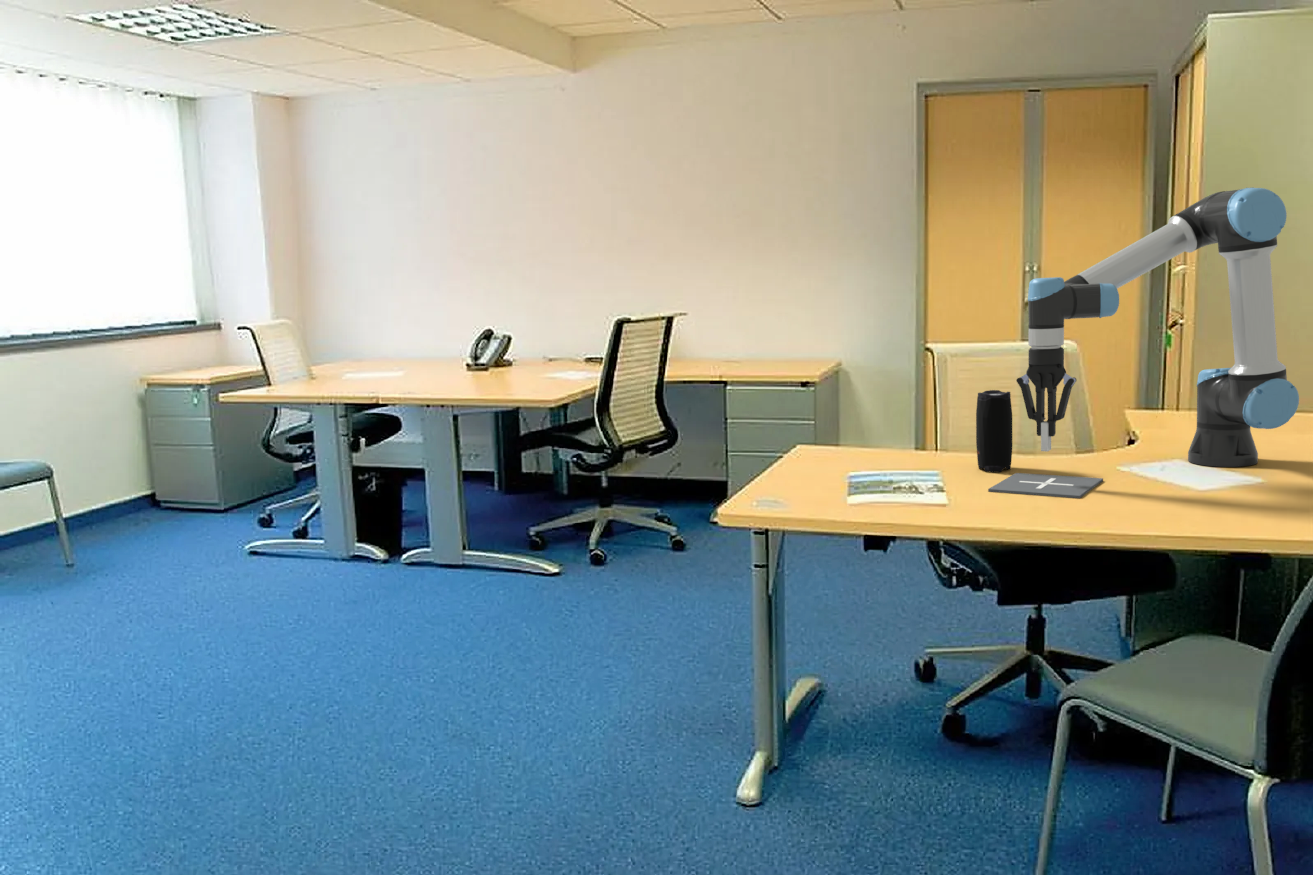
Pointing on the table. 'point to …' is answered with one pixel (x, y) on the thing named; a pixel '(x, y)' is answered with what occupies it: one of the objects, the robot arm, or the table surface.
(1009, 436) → the portable speaker
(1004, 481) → the pad
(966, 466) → the table surface
